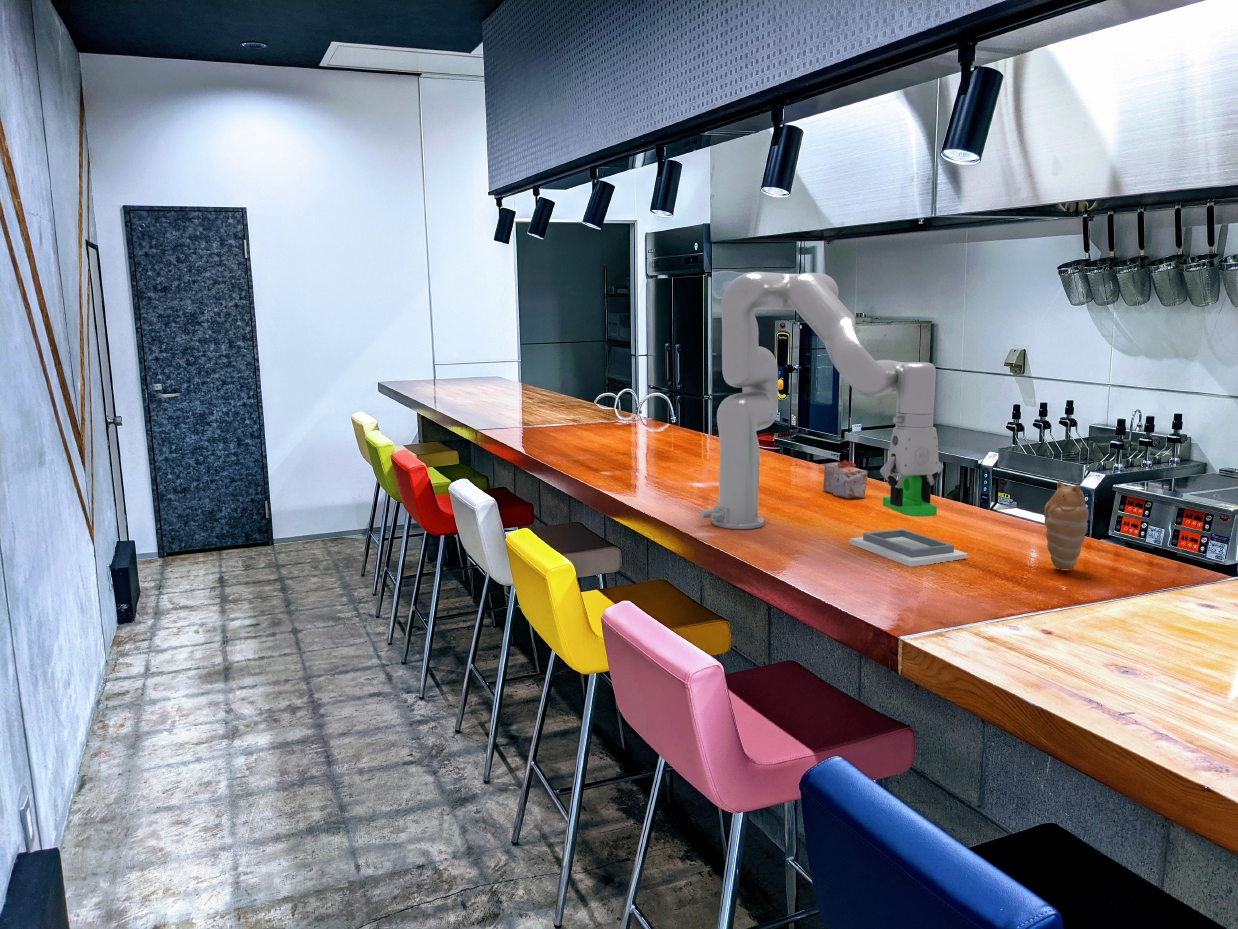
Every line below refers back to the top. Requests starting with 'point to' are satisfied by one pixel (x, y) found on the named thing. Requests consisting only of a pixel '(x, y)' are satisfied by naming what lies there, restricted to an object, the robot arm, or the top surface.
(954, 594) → the top surface
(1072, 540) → the cat ice cream
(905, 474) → the robot arm
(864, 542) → the socket board
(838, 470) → the food item
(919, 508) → the mechanical part
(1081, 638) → the top surface
